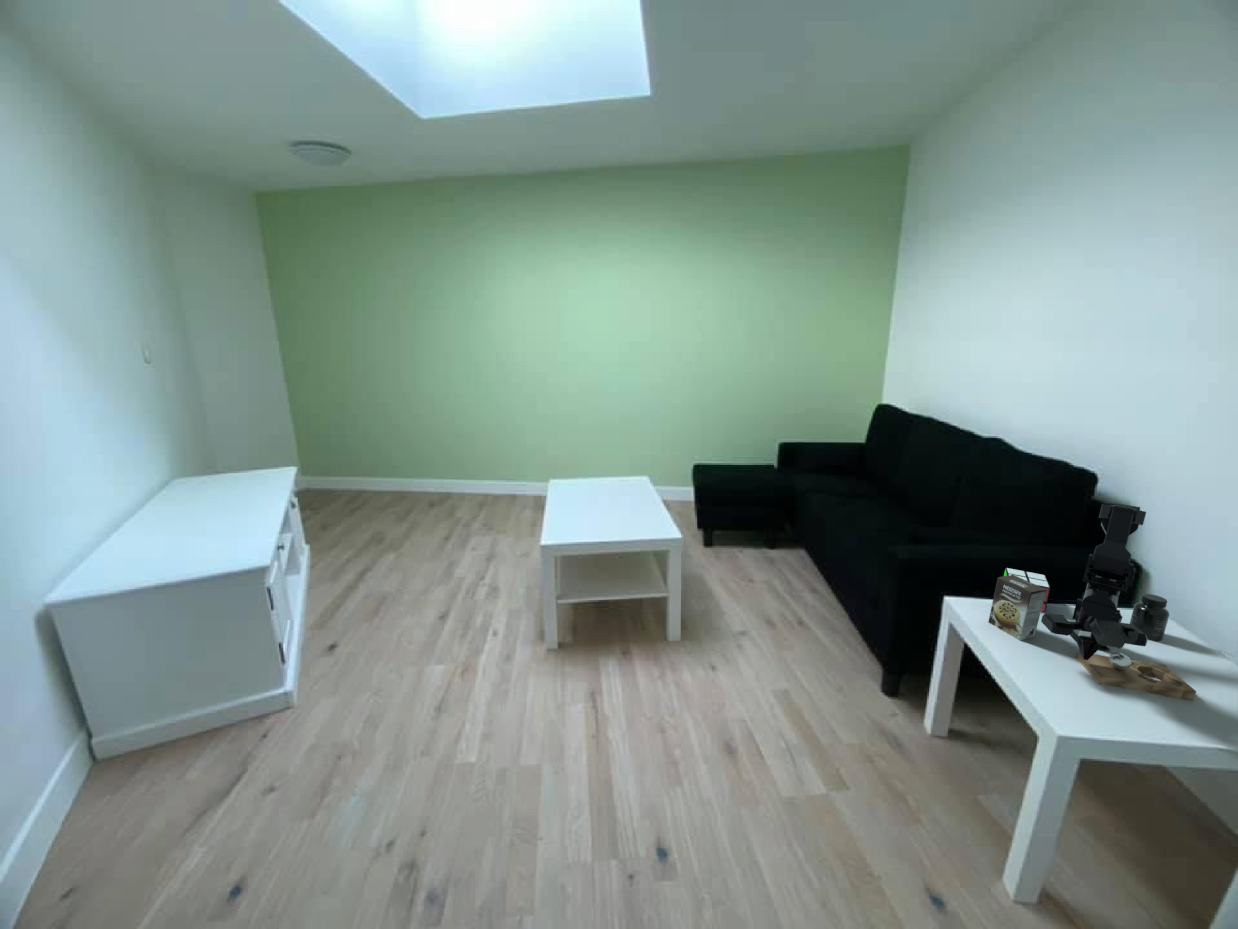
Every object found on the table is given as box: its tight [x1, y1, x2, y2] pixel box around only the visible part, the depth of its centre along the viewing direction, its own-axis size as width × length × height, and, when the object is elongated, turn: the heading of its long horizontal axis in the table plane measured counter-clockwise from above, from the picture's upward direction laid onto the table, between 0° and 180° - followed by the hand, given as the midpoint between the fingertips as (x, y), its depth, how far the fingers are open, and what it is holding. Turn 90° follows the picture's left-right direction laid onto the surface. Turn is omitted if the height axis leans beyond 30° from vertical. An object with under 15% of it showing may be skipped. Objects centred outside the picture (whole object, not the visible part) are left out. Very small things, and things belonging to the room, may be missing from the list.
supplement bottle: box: [1129, 593, 1170, 642], centre depth 139 cm, size 7×7×12 cm
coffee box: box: [988, 575, 1046, 641], centre depth 139 cm, size 9×6×16 cm
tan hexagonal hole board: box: [1075, 651, 1197, 701], centre depth 122 cm, size 18×10×2 cm, turn 73°
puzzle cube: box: [1003, 567, 1052, 614], centre depth 154 cm, size 10×10×10 cm
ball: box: [1108, 652, 1132, 670], centre depth 122 cm, size 4×4×4 cm
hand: (1084, 659), depth 124 cm, fingers closed
